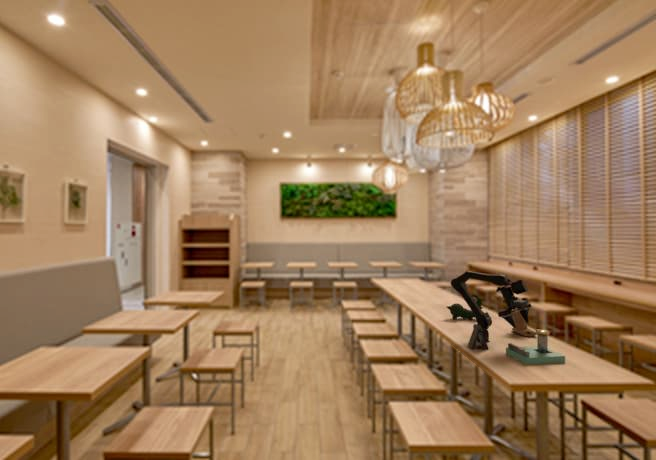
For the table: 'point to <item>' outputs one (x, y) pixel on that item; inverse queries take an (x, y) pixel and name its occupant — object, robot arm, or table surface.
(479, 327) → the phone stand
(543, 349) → the metal peg
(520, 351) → the jig
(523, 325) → the tan boot
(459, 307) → the toy figurine
